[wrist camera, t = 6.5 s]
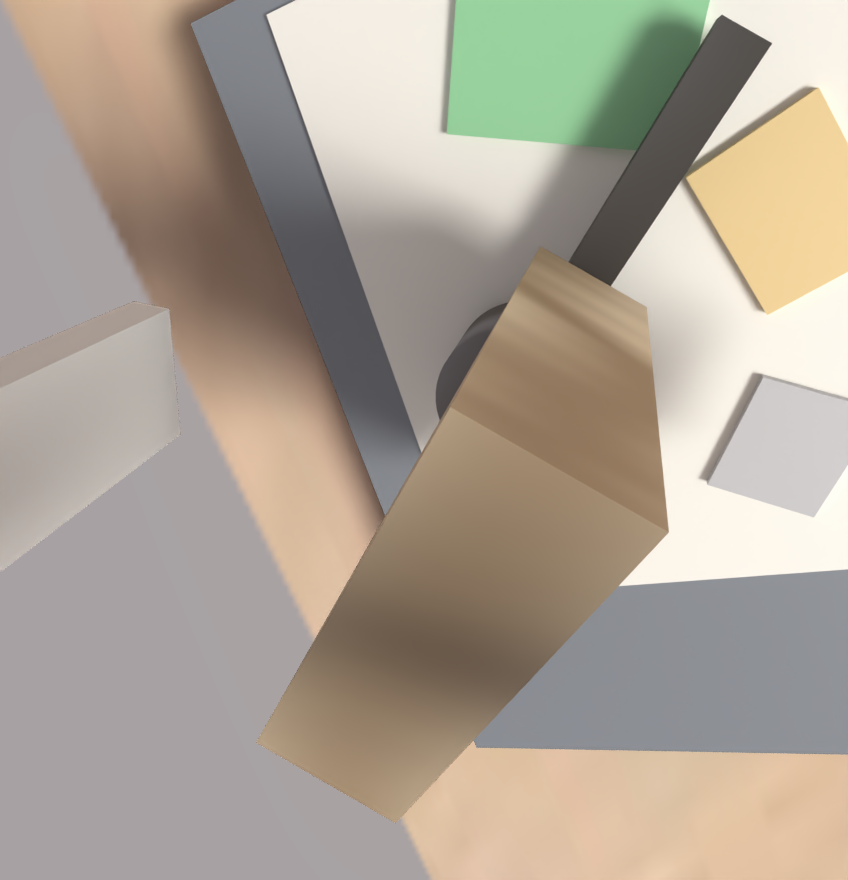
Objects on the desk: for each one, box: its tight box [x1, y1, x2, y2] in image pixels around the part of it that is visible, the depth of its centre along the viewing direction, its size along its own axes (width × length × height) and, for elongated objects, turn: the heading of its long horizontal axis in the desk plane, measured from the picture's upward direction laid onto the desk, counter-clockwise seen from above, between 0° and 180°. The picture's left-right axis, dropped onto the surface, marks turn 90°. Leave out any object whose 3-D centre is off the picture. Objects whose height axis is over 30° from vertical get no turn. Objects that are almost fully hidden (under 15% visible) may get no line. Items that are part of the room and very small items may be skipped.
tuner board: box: [190, 0, 848, 754], centre depth 16 cm, size 22×13×2 cm, turn 18°
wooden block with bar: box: [256, 15, 772, 823], centre depth 10 cm, size 3×10×9 cm, turn 154°
